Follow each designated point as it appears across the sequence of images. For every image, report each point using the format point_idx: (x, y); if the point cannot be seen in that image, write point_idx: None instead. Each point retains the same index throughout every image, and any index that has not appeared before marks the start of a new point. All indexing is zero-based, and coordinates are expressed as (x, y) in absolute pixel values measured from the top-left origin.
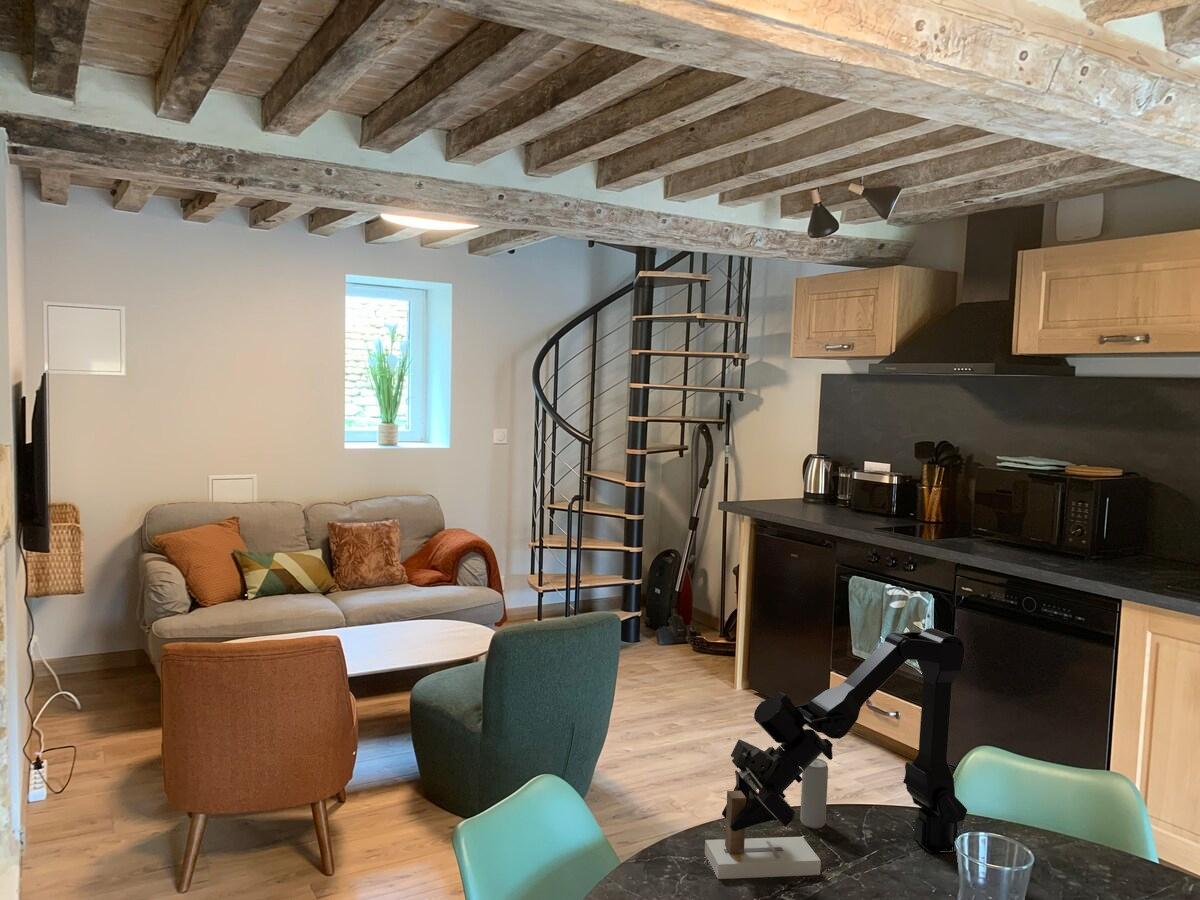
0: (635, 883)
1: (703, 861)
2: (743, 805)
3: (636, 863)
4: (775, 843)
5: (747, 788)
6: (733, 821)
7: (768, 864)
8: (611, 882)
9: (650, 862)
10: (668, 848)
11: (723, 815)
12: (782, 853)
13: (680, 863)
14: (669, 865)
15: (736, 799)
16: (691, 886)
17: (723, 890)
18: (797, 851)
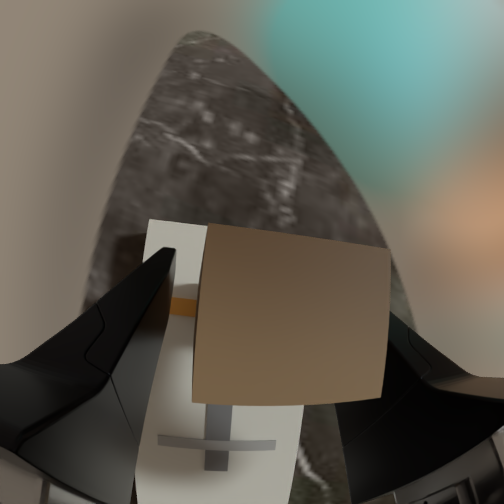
0: (194, 61)
1: None
2: (193, 357)
3: (274, 84)
4: (256, 463)
5: (411, 454)
6: (165, 262)
7: None
8: (210, 35)
9: (274, 108)
10: (336, 170)
11: None
12: (188, 461)
13: (259, 166)
14: (254, 138)
15: (202, 282)
16: (142, 153)
17: (100, 225)
18: (195, 500)
